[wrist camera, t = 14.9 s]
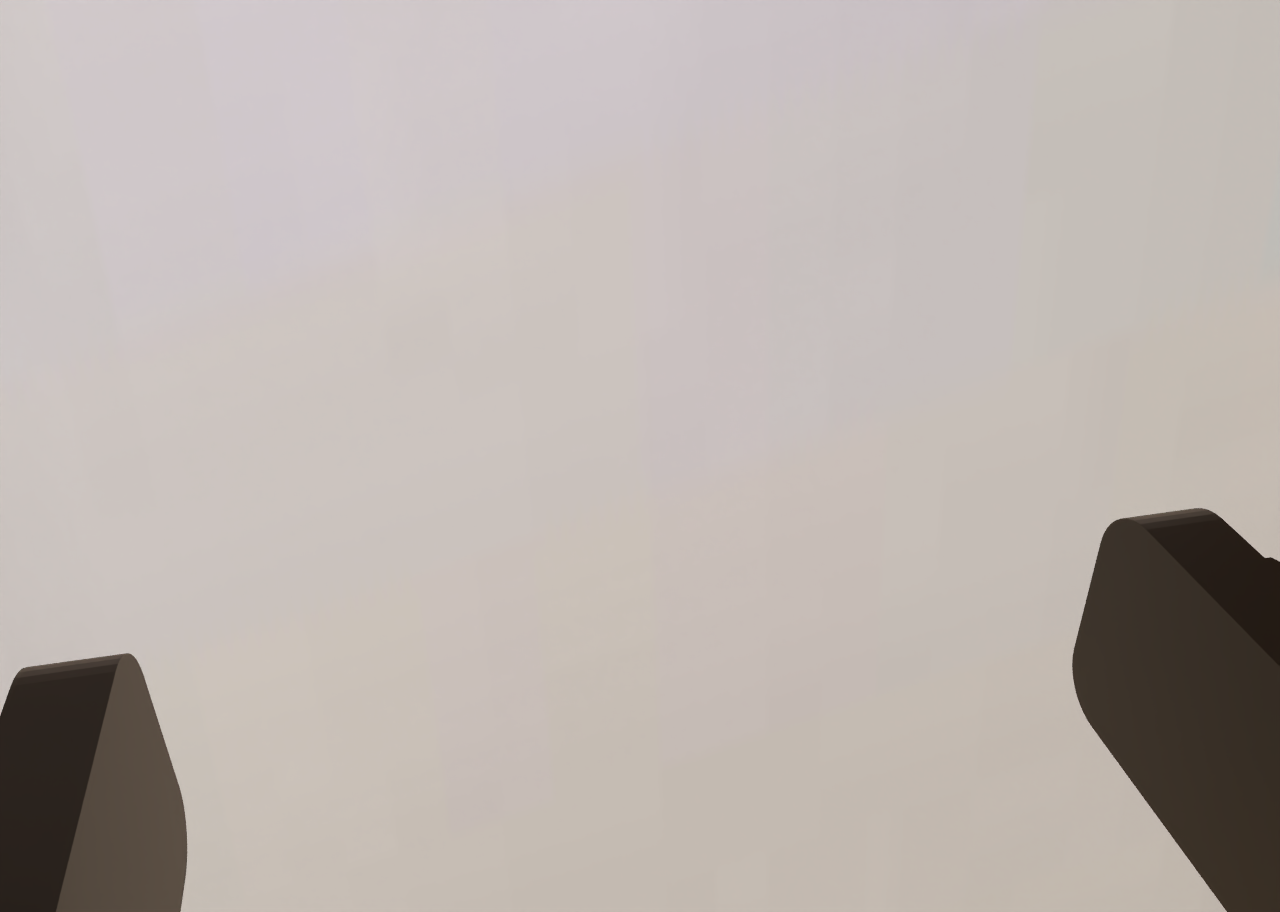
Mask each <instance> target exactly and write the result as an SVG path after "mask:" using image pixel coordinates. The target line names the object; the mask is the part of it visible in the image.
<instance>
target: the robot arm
mask: <svg viewBox="0 0 1280 912" xmlns="http://www.w3.org/2000/svg"><path fill="white" fill-rule="evenodd" d="M1072 667H1073V679H1074V685H1075V689H1076V693H1077V697H1078V700H1079V703H1080V705H1081V708H1082V710H1083V712H1084V714H1085V716H1086V718H1087V720H1088V721H1089V723H1090V725H1091V726H1092V728H1093V729H1094V730H1095V732H1096V733H1097V734H1098V736H1099V737H1100V739H1101V740H1102V741H1103V743H1104V744H1105V745H1106V747H1107V748H1108V749H1109V751H1110V752H1111V754H1112V755H1113V756H1114V758H1115V759H1116V760H1117V762H1118V763H1119V765H1120V766H1121V767H1122V769H1123V770H1124V771H1125V773H1126V774H1127V775H1128V777H1129V778H1130V780H1131V781H1132V782H1133V784H1134V785H1135V786H1136V788H1137V789H1138V791H1139V792H1140V793H1141V795H1142V796H1143V797H1144V799H1145V800H1146V801H1147V803H1148V804H1149V806H1150V807H1151V808H1152V810H1153V811H1154V812H1155V814H1156V815H1157V817H1158V818H1159V819H1160V821H1161V822H1162V823H1163V825H1164V826H1165V827H1166V829H1167V830H1168V832H1169V833H1170V834H1171V836H1172V837H1173V838H1174V840H1175V841H1176V843H1177V844H1178V845H1179V847H1180V848H1181V849H1182V851H1183V852H1184V853H1185V855H1186V856H1187V858H1188V859H1189V860H1190V862H1191V863H1192V864H1193V866H1194V867H1195V869H1196V870H1197V871H1198V873H1199V874H1200V875H1201V877H1202V878H1203V879H1204V881H1205V882H1206V884H1207V885H1208V886H1209V888H1210V889H1211V890H1212V892H1213V893H1214V895H1215V896H1216V897H1217V899H1218V900H1219V901H1220V903H1221V904H1222V905H1223V907H1224V908H1225V910H1226V911H1227V912H1280V562H1279V561H1277V560H1275V559H1273V558H1271V557H1270V558H1264V557H1263V556H1262V555H1261V554H1260V553H1259V552H1258V551H1256V550H1255V549H1254V548H1253V547H1252V546H1251V545H1250V544H1249V543H1248V542H1247V541H1246V540H1245V539H1243V538H1242V537H1241V536H1240V535H1239V534H1238V533H1237V532H1236V531H1235V530H1234V529H1233V528H1232V527H1230V526H1229V525H1228V524H1227V523H1226V522H1225V521H1224V520H1223V519H1222V518H1220V517H1219V516H1218V515H1217V514H1215V513H1213V512H1211V511H1209V510H1206V509H1202V508H1195V509H1188V510H1180V511H1173V512H1166V513H1159V514H1152V515H1144V516H1137V517H1130V518H1123V519H1119V520H1116V521H1114V522H1113V523H1112V524H1110V526H1109V527H1108V528H1107V529H1106V531H1105V533H1104V535H1103V537H1102V541H1101V544H1100V548H1099V552H1098V556H1097V560H1096V564H1095V568H1094V572H1093V576H1092V580H1091V584H1090V588H1089V592H1088V596H1087V600H1086V604H1085V608H1084V612H1083V616H1082V620H1081V624H1080V628H1079V632H1078V636H1077V640H1076V644H1075V648H1074V653H1073V663H1072ZM186 866H187V831H186V820H185V812H184V805H183V800H182V795H181V792H180V788H179V785H178V782H177V778H176V775H175V772H174V769H173V766H172V763H171V760H170V757H169V754H168V750H167V747H166V744H165V741H164V738H163V735H162V732H161V729H160V725H159V722H158V719H157V716H156V713H155V710H154V707H153V704H152V701H151V697H150V694H149V691H148V688H147V685H146V682H145V679H144V676H143V673H142V670H141V668H140V666H139V664H138V662H137V660H136V659H135V657H134V656H132V655H131V654H128V653H126V654H119V655H112V656H104V657H97V658H90V659H83V660H75V661H68V662H61V663H54V664H47V665H39V666H32V667H26V668H23V669H21V670H20V671H19V672H18V673H17V675H16V676H15V678H14V680H13V682H12V685H11V687H10V690H9V693H8V696H7V699H6V701H5V704H4V707H3V710H2V713H1V716H0V912H180V911H181V904H182V897H183V890H184V883H185V876H186Z"/></svg>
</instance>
